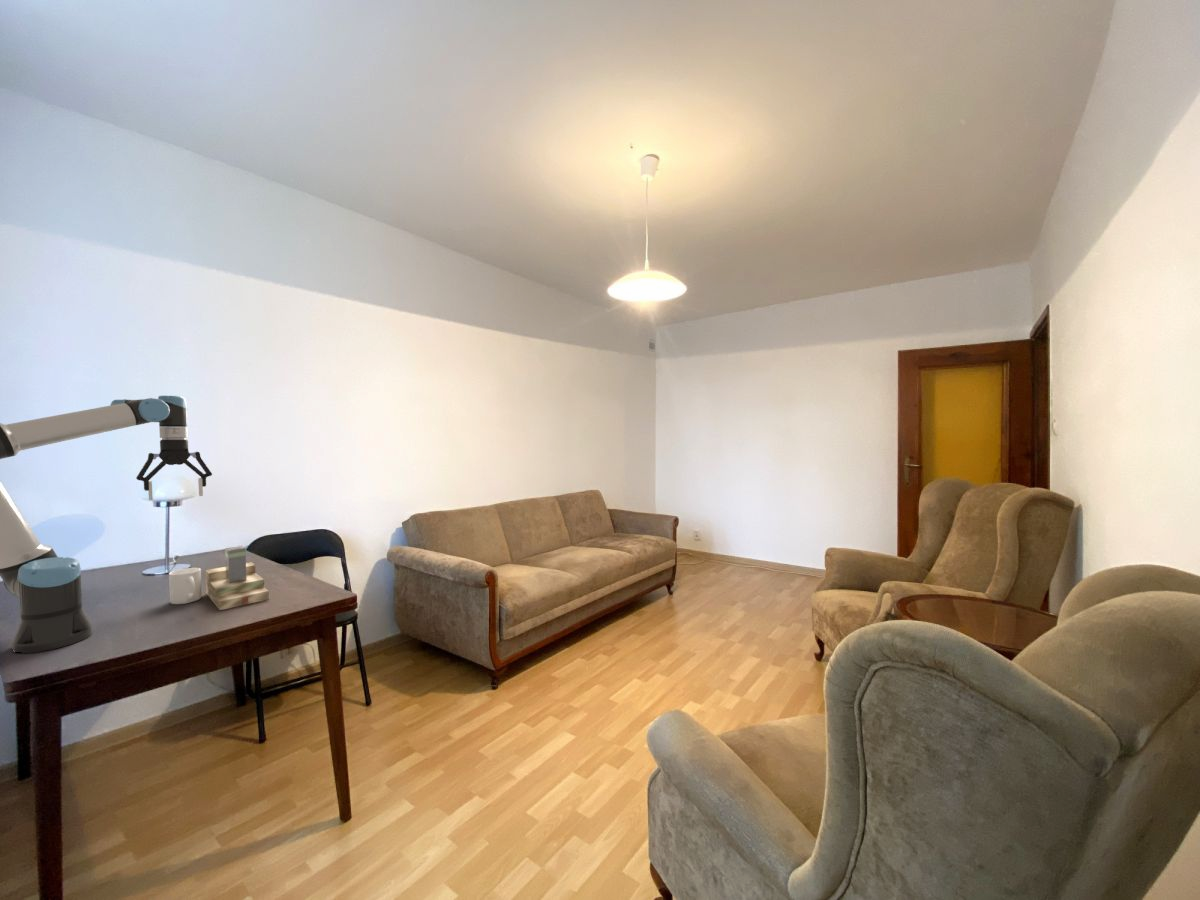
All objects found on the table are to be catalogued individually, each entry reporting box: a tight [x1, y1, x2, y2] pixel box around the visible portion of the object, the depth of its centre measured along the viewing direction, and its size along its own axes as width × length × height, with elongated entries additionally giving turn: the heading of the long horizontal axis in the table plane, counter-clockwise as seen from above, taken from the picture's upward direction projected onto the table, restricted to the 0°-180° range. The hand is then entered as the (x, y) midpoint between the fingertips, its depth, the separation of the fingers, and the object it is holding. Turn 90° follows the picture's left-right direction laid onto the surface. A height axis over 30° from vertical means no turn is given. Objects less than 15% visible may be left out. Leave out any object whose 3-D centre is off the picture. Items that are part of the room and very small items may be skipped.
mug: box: [168, 567, 203, 605], centre depth 169 cm, size 9×12×11 cm
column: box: [224, 545, 247, 584], centre depth 173 cm, size 5×5×12 cm
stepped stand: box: [205, 561, 270, 611], centre depth 173 cm, size 14×24×9 cm, turn 48°
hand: (176, 497), depth 171 cm, fingers open, 13 cm apart
